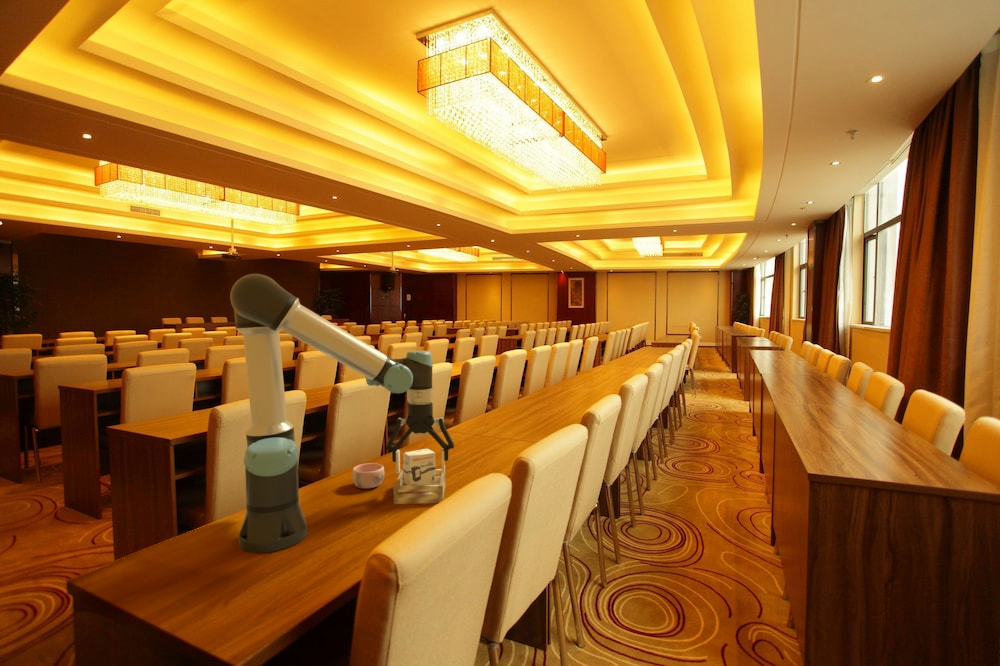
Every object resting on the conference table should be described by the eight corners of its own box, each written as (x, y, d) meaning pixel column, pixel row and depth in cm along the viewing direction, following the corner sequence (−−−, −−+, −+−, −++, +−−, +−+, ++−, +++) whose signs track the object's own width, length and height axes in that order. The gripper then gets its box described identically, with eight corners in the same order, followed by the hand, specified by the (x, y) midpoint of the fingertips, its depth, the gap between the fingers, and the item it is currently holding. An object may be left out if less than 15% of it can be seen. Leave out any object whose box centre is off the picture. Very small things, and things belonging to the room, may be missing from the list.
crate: (393, 504, 142) (393, 486, 141) (401, 485, 157) (401, 469, 156) (442, 502, 142) (442, 485, 142) (445, 484, 157) (445, 468, 157)
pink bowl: (373, 493, 150) (373, 474, 150) (345, 489, 153) (345, 470, 153) (393, 480, 162) (393, 462, 161) (367, 477, 165) (366, 459, 164)
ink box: (409, 496, 145) (409, 456, 144) (403, 490, 149) (402, 452, 148) (436, 490, 150) (435, 451, 149) (429, 485, 154) (428, 448, 153)
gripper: (375, 405, 144) (376, 476, 145) (461, 404, 145) (461, 475, 146) (380, 400, 151) (381, 468, 152) (461, 399, 153) (462, 466, 154)
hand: (420, 471), depth 149 cm, fingers open, 13 cm apart
